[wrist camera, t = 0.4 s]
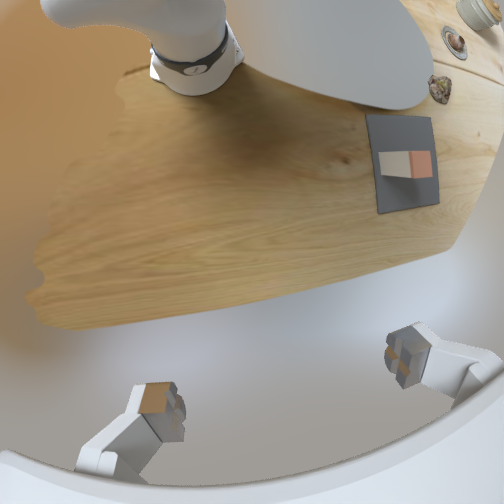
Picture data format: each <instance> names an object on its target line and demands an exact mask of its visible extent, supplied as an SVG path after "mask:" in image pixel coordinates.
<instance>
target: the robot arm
mask: <svg viewBox="0 0 504 504" xmlns="http://www.w3.org/2000/svg"><path fill="white" fill-rule="evenodd" d="M40 3H41V7H42V9H43V11H44V13H45V15H46V16H47V17H48V18H49V19H50V20H51V21H53V22H54V23H55V24H57V25H60V26H62V27H65V28H70V29H72V28H78V27H83V26H91V25H114V26H120V27H125V28H130V29H133V30H136V31H139V32H141V33H143V34H145V35H146V36H147V38H148V39H149V40H150V42H151V45H152V48H151V49H150V54H151V55H152V59H151V68H150V76H151V78H152V79H153V80H156V81H159V82H163V83H165V84H166V85H167V86H168V87H169V88H170V89H172V90H173V91H175V92H177V93H180V94H183V95H190V96H195V95H202V94H206V93H209V92H211V91H214V90H215V89H217V88H219V87H220V86H221V85H222V84H223V83H224V82H225V81H226V80H227V79H228V78H229V76H230V74H231V72H232V70H233V69H234V68H235V67H236V66H237V65H239V64H240V63H241V62H242V61H243V60H244V54H243V52H242V50H241V47H240V45H239V43H238V41H237V39H236V37H235V35H234V33H233V31H232V29H231V27H230V26H229V24H228V22H227V20H226V5H225V2H224V0H40ZM236 51H237V52H238V53H236ZM386 343H387V344H388V345H389V346H388V347H387V349H386V350H385V355H384V359H385V364H386V366H387V368H388V370H389V371H390V372H392V373H394V374H396V380H397V382H398V383H399V385H400V386H401V387H402V389H406V388H408V387H410V386H413V385H415V384H417V383H419V382H421V383H422V384H424V385H426V386H428V387H430V388H433V389H435V390H437V391H439V392H441V393H443V394H446V395H448V396H450V397H452V398H454V399H455V401H454V403H453V405H452V407H451V410H450V411H448V412H446V413H445V414H443V415H442V416H440V417H438V418H436V419H435V420H433V421H431V422H430V423H428V424H426V425H424V426H423V427H420V428H418V429H417V430H415V431H413V432H411V433H409V434H407V435H405V436H403V437H401V438H398V439H396V440H394V441H392V442H390V443H387V444H385V445H383V446H380V447H378V448H376V449H373V450H371V451H368V452H366V453H363V454H360V455H357V456H355V457H352V458H349V459H346V460H343V461H340V462H337V463H334V464H330V465H327V466H324V467H320V468H317V469H313V470H309V471H305V472H300V473H296V474H292V475H287V476H282V477H277V478H272V479H265V480H259V481H251V482H243V483H233V484H222V485H200V486H177V485H175V486H174V485H154V484H148V483H147V482H146V481H145V480H144V479H143V478H142V477H141V476H140V475H139V473H140V472H141V471H142V470H143V468H144V467H145V466H146V464H147V463H148V462H149V461H150V459H151V458H152V457H153V455H154V454H155V453H156V452H157V450H158V449H159V448H160V446H161V445H162V443H163V442H183V441H184V431H185V428H184V426H183V424H182V422H183V421H184V420H185V419H186V408H185V404H184V401H183V399H182V397H181V396H180V395H178V394H177V387H176V385H175V383H174V382H159V383H144V384H143V383H142V384H141V383H137V384H135V385H134V387H133V390H132V393H131V396H130V399H129V402H128V405H127V408H126V411H125V414H121V415H120V416H119V417H117V418H116V419H115V420H114V421H113V422H111V423H110V424H109V425H108V426H107V427H105V428H104V429H103V430H102V431H101V432H99V433H98V434H97V435H96V436H95V437H93V438H92V439H91V440H90V441H89V442H87V443H86V444H85V445H84V446H83V447H82V449H81V452H80V455H79V458H78V461H77V464H76V467H75V470H74V471H71V470H67V469H64V468H60V467H57V466H53V465H51V464H47V463H44V462H41V461H39V460H36V459H33V458H30V457H28V456H26V455H23V454H21V453H18V452H16V451H13V450H10V449H6V450H4V451H1V452H0V504H504V362H503V361H502V360H501V359H500V358H499V357H498V356H497V355H495V354H494V353H493V352H492V351H490V350H485V349H481V348H477V347H472V346H468V345H464V344H460V343H456V342H452V341H448V340H445V341H442V340H441V339H440V338H439V337H438V336H436V334H434V333H433V332H432V331H431V330H430V329H429V328H428V327H427V326H426V325H424V324H423V323H422V322H416V323H414V324H412V325H409V326H407V327H405V328H402V329H400V330H397V331H394V332H392V333H389V334H388V336H387V340H386Z"/></svg>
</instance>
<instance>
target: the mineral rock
mask: <svg viewBox="0 0 504 504" xmlns="http://www.w3.org/2000/svg"><path fill="white" fill-rule="evenodd" d="M428 84H429V91H430V93H431V94H432V95H433V97H434V98H435V100H436V101H438V102H442V103H447V101H448V99H449V96H450V91H451V85H452V83H451V80H450V78H447V77H444V76H442V77H435V76H433V75H432V76H431V77H430V79H429V81H428Z"/></svg>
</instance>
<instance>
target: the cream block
mask: <svg viewBox="0 0 504 504" xmlns="http://www.w3.org/2000/svg"><path fill="white" fill-rule="evenodd" d="M378 153H379V161H380V169H381V175H387V176H397V177H406V178H424V177H433V175H432V164H431V155H430V151H394V152H378Z"/></svg>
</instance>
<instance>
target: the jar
mask: <svg viewBox="0 0 504 504" xmlns="http://www.w3.org/2000/svg"><path fill="white" fill-rule="evenodd" d="M456 8H457V10H458V12H459V14H460V16H461V17H462V19H463V20H464V21H465V23H466V24H467V25H468V26H469V27H470V28H472V29H473V30H475V31H480V30H482V29H485V28H488V27H492V26H493V25H494V24H496V25H499V21H500V22H501V21H502V15H501V12H500V10H499V5H498V4H497V3H495V2H493V1H492V0H460V1H458V2H457V3H456Z"/></svg>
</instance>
